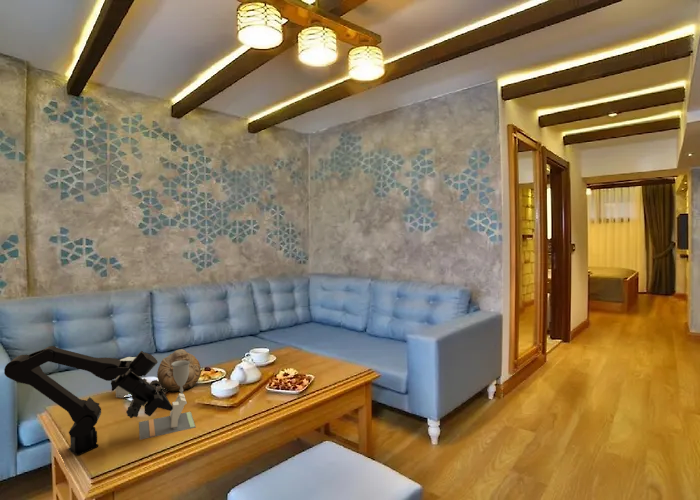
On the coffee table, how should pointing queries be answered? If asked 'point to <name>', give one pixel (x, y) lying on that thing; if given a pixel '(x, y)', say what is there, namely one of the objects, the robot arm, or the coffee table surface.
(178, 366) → the chalice
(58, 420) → the coffee table surface
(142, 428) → the slat rack base
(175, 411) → the handle
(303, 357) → the coffee table surface
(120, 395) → the skincare box
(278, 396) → the coffee table surface
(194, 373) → the buddha statue
